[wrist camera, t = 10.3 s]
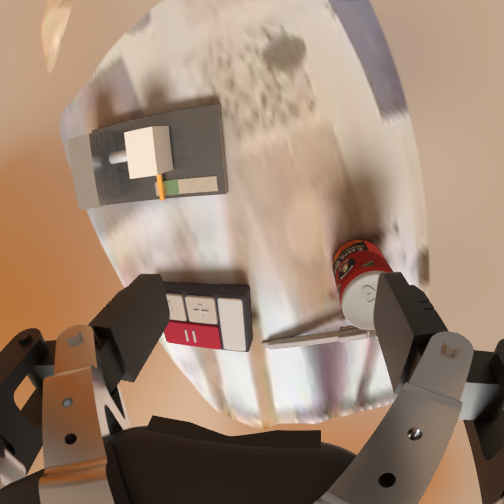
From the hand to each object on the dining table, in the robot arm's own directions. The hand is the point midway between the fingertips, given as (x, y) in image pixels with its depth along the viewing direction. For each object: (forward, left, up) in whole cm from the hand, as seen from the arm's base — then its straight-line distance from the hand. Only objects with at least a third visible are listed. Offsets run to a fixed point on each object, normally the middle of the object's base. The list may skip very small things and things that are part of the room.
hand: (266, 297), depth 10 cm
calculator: (+22, -14, -31) cm, 40 cm away
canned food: (+13, +10, -30) cm, 34 cm away
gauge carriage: (-3, -19, -28) cm, 34 cm away
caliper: (+25, +5, -31) cm, 40 cm away
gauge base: (-4, -18, -30) cm, 35 cm away
